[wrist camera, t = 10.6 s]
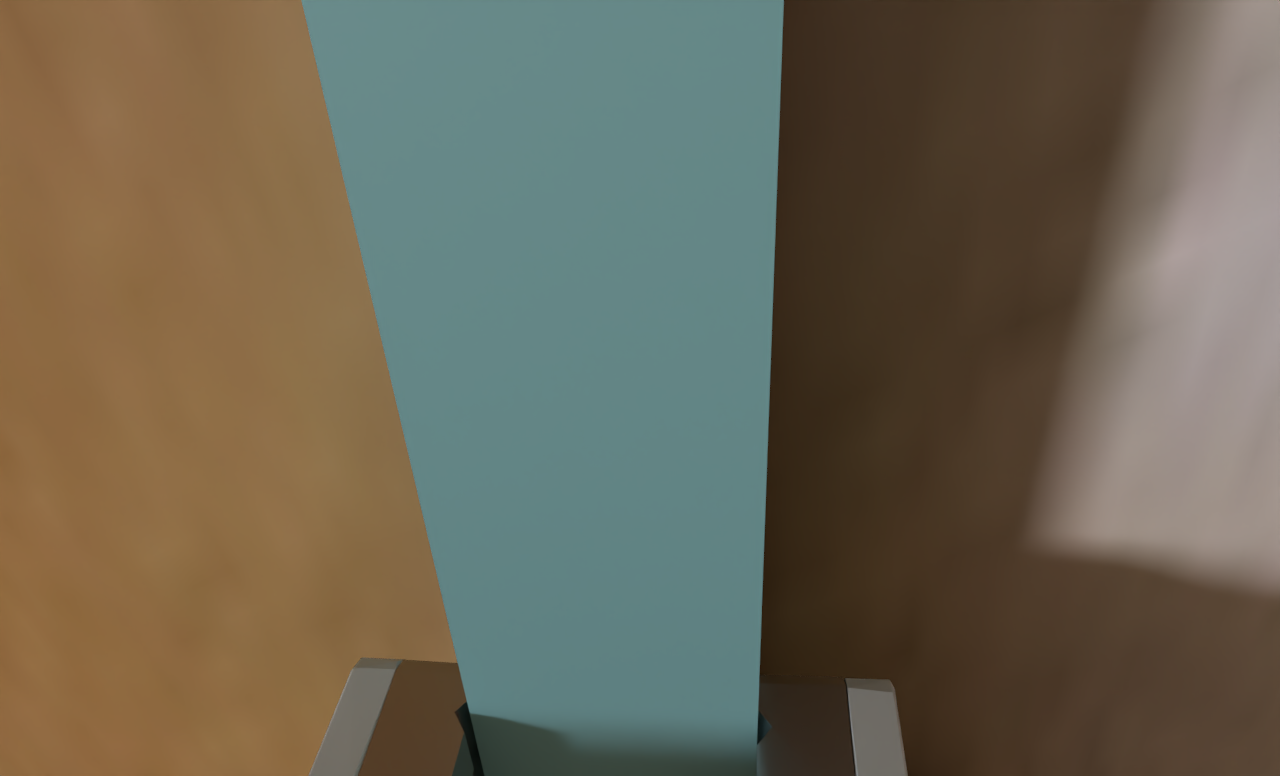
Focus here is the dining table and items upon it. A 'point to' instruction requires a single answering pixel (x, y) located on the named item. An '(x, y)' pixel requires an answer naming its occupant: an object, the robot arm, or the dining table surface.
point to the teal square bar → (577, 351)
